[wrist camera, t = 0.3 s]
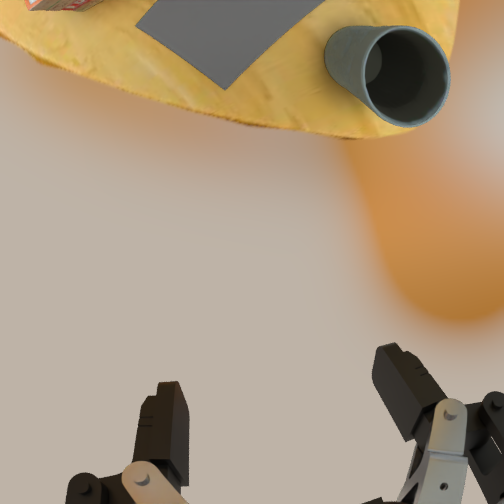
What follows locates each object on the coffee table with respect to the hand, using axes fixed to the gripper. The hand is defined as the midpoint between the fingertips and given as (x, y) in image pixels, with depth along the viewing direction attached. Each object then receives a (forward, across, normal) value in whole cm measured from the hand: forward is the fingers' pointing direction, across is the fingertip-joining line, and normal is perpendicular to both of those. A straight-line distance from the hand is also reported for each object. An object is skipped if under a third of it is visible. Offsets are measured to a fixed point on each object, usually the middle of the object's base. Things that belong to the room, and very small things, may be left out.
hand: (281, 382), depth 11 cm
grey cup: (+27, -16, -18) cm, 36 cm away
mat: (+24, -3, -25) cm, 35 cm away
